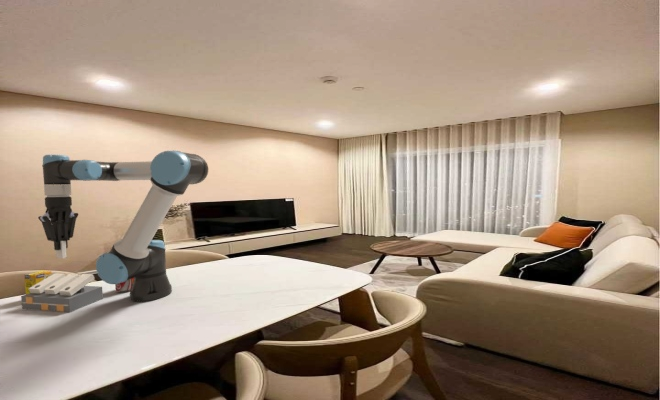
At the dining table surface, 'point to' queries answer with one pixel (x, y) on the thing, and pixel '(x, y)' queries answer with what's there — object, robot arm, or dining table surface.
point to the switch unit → (62, 300)
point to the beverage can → (124, 286)
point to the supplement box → (35, 279)
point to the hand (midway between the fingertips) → (61, 257)
